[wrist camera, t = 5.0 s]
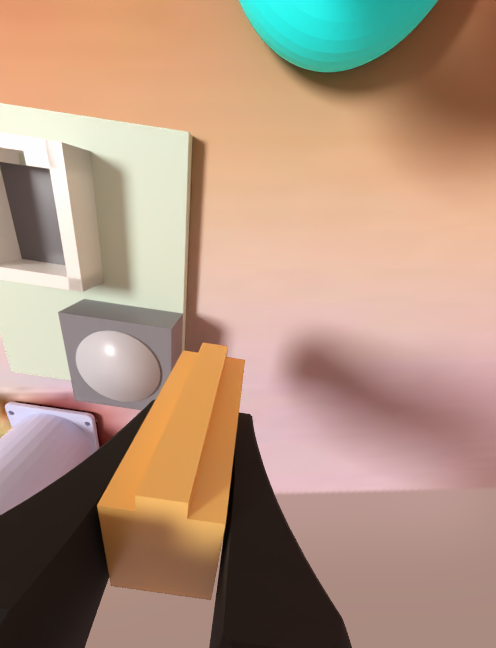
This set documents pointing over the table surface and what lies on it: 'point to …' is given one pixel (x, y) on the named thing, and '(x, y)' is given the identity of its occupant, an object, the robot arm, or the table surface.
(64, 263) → the frame
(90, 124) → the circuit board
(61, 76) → the table surface
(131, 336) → the grey dome button
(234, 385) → the plug
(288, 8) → the donuts
